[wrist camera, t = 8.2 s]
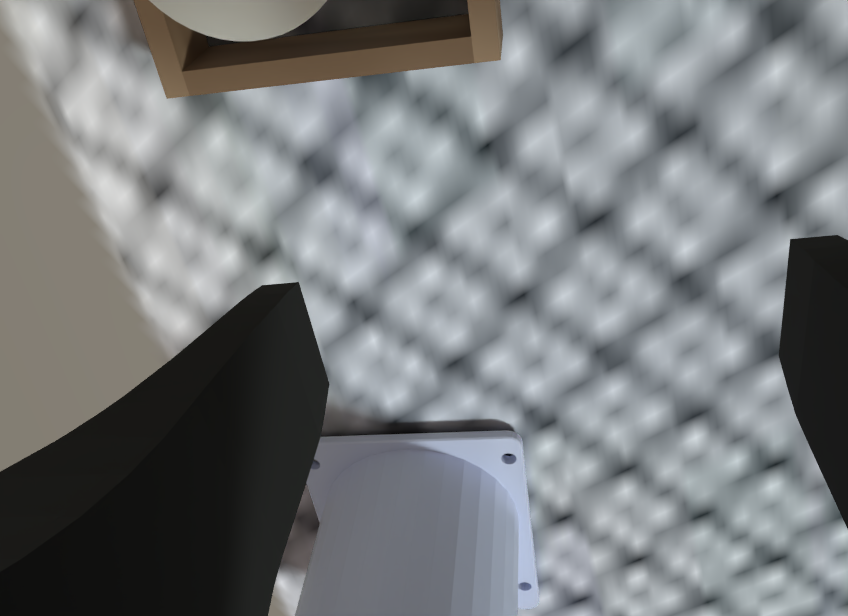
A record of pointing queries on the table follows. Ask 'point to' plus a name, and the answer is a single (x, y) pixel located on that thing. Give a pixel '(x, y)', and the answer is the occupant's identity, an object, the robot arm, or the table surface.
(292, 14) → the salt shaker
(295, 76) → the wooden tray
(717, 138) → the table surface
